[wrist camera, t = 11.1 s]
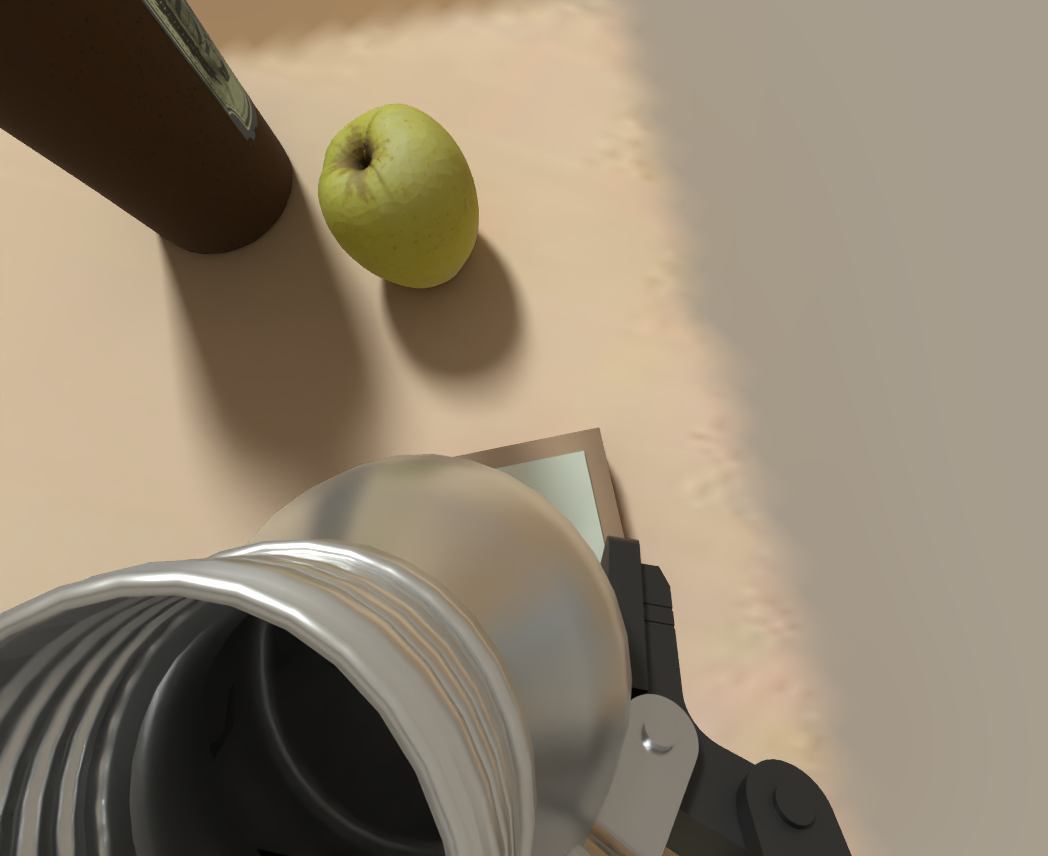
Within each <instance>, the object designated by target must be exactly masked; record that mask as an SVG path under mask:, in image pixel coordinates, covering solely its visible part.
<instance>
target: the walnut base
mask: <svg viewBox="0 0 1048 856" xmlns="http://www.w3.org/2000/svg"><path fill="white" fill-rule="evenodd" d="M455 458H462V459H468V460H472V461H475V462H478V463H480V464H483V465H486V466H488V467H491V468H494V469H497V470H499V471H502V472H505V473H507V474H509V475H510V476H512V477H514V478H515V479H517V480H519V481H520V482H522V483H523V484H525V485H527V486H528V487H530V488H532V489H533V490H535V491H537V492H538V493H540V494H541V495H542V496H543V497H544V498H545V499H547V500H548V501H549V502H550V503H551V504H552V505H553V506H554V507H555V508H557V509H558V510H559V511H560V512H561V513H562V514H563V515H564V516H565V517H567V518H568V519H569V520H570V521H571V523H572V524H573V525H574V527H575V528H576V529H577V531H578V532H579V533H580V534H581V536H582V537H583V538H584V540H585V541H586V542H587V544H588V545H589V546H590V548H591V549H592V550H593V552H594V553H595V554H596V556H597V558H598V560H599V562H600V563H601V559H602V555H603V550H604V546H605V542H606V538H607V536H608V535H609V536H615V537H622V538H624V533H623V529H622V525H621V520H620V516H619V512H618V507H617V503H616V499H615V494H614V490H613V485H612V481H611V477H610V472H609V468H608V464H607V459H606V455H605V451H604V446H603V442H602V438H601V433H600V429H599V428H594V429H589V430H584V431H579V432H574V433H569V434H565V435H560V436H555V437H550V438H545V439H540V440H535V441H530V442H525V443H520V444H515V445H510V446H505V447H500V448H495V449H490V450H485V451H481V452H476V453H471V454H466V455H461V456H456V457H455Z"/></svg>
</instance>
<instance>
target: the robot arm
mask: <svg viewBox="0 0 1048 856" xmlns="http://www.w3.org/2000/svg"><path fill="white" fill-rule="evenodd" d="M600 564H601V566H602V568H603V570H604V572H605V574H606V576H607V578H608V580H609V582H610V584H611V586H612V588H613V590H614V592H615V595H616V598H617V602H618V605H619V608H620V612H621V615H622V618H623V622H624V625H625V628H626V632H627V636H628V646H629V655H630V664H631V673H632V688H631V702H630V715H629V726H628V730H627V733H626V737H625V741H624V744H623V748H622V752H621V756H620V759H619V763H618V767H617V770H616V773H615V776H614V779H613V781H612V784H611V787H610V790H609V793H608V795H607V797H606V799H605V801H604V803H603V805H602V807H601V809H600V811H599V813H598V816H597V818H596V820H595V822H594V824H593V826H592V828H591V830H590V832H589V834H588V835H587V836H585V837H584V838H583V839H582V840H581V841H580V842H579V843H578V844H576V845H575V846H574V847H573V848H572V849H571V850H570V851H569V852H568V853H567V854H566V855H565V856H662V855H663V852H664V849H665V847H667V848H669V849H670V850H672V851H673V852H675V853H676V854H678V855H679V856H852V855H851V853H850V851H849V848H848V846H847V843H846V841H845V839H844V836H843V834H842V831H841V829H840V826H839V824H838V822H837V819H836V817H835V814H834V812H833V810H832V807H831V805H830V803H829V801H828V800H827V798H826V796H825V795H824V793H823V792H822V790H821V789H820V788H819V787H818V785H817V784H816V783H815V782H814V781H813V780H812V779H811V778H810V777H809V776H808V775H807V774H805V773H804V772H803V771H802V770H800V769H798V768H797V767H795V766H793V765H791V764H789V763H787V762H784V761H781V760H775V759H771V760H764V761H761V762H759V763H757V764H756V765H754V764H752V763H751V762H749V761H747V760H745V759H743V758H741V757H740V756H738V755H736V754H734V753H732V752H730V751H729V750H727V749H725V748H723V747H721V746H720V745H718V744H716V743H715V742H713V741H712V740H711V739H710V738H708V737H707V736H706V735H705V734H704V733H703V732H702V731H701V730H700V729H699V728H698V726H697V725H696V724H695V723H694V721H693V720H692V718H691V716H690V715H689V713H688V711H687V708H686V706H685V703H684V699H683V693H682V685H681V676H680V668H679V659H678V651H677V642H676V634H675V629H674V617H673V611H672V600H671V591H670V585H669V584H668V582H667V580H666V578H665V577H664V575H663V573H662V571H661V570H660V568H659V566H653V565H647V564H641V559H640V544H639V541H638V540H634V539H628V538H622V537H615V536H609V535H608V536H607V538H606V542H605V546H604V550H603V555H602V559H601V563H600ZM233 726H234V682H233V684H232V686H231V689H230V692H229V698H228V706H227V713H226V721H225V728H224V732H223V735H222V737H221V738H220V739H219V740H216V741H213V742H212V743H211V745H210V753H211V754H212V756H213V757H214V759H215V757H216V756H217V754H218V752H219V751H220V749H221V747H222V746H223V744H224V742H225V741H226V739H227V737H228V736H229V734H230V732H231V731H232V729H233ZM257 850H258V851H259V853H260V854H261V856H287V855H282V854H278V853H274V852H269V851H265V850H261V849H257Z"/></svg>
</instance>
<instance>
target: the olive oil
mask: <svg viewBox="0 0 1048 856" xmlns="http://www.w3.org/2000/svg"><path fill="white" fill-rule="evenodd" d="M0 128H1V129H3V130H4V131H6V132H7V133H9V134H10V135H12V136H13V137H15V138H16V139H18V140H20V141H21V142H23V143H24V144H26V145H27V146H29V147H30V148H32V149H33V150H35V151H36V152H38V153H39V154H41V155H42V156H44V157H45V158H47V159H48V160H50V161H51V162H53V163H54V164H56V165H57V166H59V167H60V168H62V169H63V170H65V171H66V172H68V173H69V174H71V175H73V176H74V177H76V178H77V179H79V180H80V181H82V182H83V183H85V184H86V185H88V186H89V187H91V188H92V189H94V190H95V191H97V192H98V193H100V194H101V195H102V196H104V197H105V198H107V199H108V200H110V201H111V202H113V203H114V204H116V205H117V206H119V207H120V208H121V209H123V210H124V211H126V212H127V213H129V214H130V215H132V216H133V217H135V218H136V219H138V220H139V221H140V222H142V223H143V224H145V225H146V226H148V227H149V228H151V229H152V230H154V231H155V232H156V233H158V234H159V235H161V236H162V237H164V238H165V239H167V240H168V241H170V242H172V243H173V244H175V245H177V246H179V247H181V248H183V249H186V250H189V251H193V252H198V253H220V252H226V251H230V250H233V249H236V248H239V247H241V246H244V245H246V244H248V243H250V242H251V241H253V240H255V239H256V238H258V237H259V236H260V235H262V234H263V233H264V232H265V231H266V230H267V229H268V228H269V227H270V226H271V225H272V224H273V223H274V222H275V221H276V219H277V218H278V217H279V215H280V214H281V212H282V210H283V208H284V206H285V204H286V202H287V199H288V196H289V193H290V188H291V179H292V176H291V167H290V162H289V159H288V157H287V154H286V152H285V150H284V148H283V147H282V145H281V144H280V142H279V140H278V139H277V137H276V136H275V134H274V133H273V132H272V130H271V129H270V127H269V126H268V124H267V123H266V121H265V120H264V118H263V117H262V115H261V114H260V112H259V111H258V109H257V108H256V107H255V105H254V104H253V102H252V101H251V99H250V97H249V96H248V94H247V93H246V91H245V90H244V88H243V87H242V85H241V84H240V82H239V81H238V79H237V78H236V76H235V75H234V73H233V72H232V70H231V69H230V67H229V66H228V64H227V63H226V61H225V60H224V58H223V57H222V55H221V54H220V52H219V50H218V49H217V47H216V46H215V44H214V43H213V41H212V40H211V38H210V37H209V35H208V34H207V32H206V31H205V29H204V28H203V26H202V25H201V23H200V21H199V20H198V18H197V17H196V15H195V14H194V12H193V11H192V9H191V8H190V6H189V5H188V3H187V2H186V0H0Z"/></svg>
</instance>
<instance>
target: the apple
mask: <svg viewBox="0 0 1048 856" xmlns="http://www.w3.org/2000/svg"><path fill="white" fill-rule="evenodd" d="M318 197H319V203H320V206H321V210H322V213H323V216H324V218H325V220H326V223H327V225H328V227H329V229H330V231H331V232H332V234H333V235H334V237H335V238H336V240H337V242H338V243H339V244H340V246H341V247H342V248H343V249H344V250H345V251H346V252H347V253H348V254H349V255H350V256H351V257H352V258H353V259H354V260H355V261H357V262H358V263H359V264H360V265H361V266H363V267H364V268H365V269H367V270H368V271H370V272H372V273H373V274H375V275H377V276H379V277H381V278H383V279H385V280H388V281H390V282H392V283H395V284H398V285H402V286H406V287H411V288H429V287H434V286H437V285H440V284H442V283H445V282H447V281H449V280H450V279H452V278H453V277H454V276H455V275H456V274H457V273H458V272H459V271H460V269H461V268H462V266H463V265H464V263H465V262H466V260H467V259H468V257H469V256H470V254H471V252H472V250H473V247H474V245H475V242H476V238H477V232H478V224H479V208H478V200H477V193H476V188H475V184H474V180H473V177H472V174H471V171H470V169H469V166H468V164H467V161H466V159H465V157H464V155H463V153H462V152H461V150H460V148H459V146H458V145H457V144H456V142H455V141H454V139H453V138H452V137H451V135H450V134H449V133H448V132H447V131H446V130H445V129H444V128H443V127H442V126H441V125H440V124H439V123H438V122H437V121H435V120H434V119H433V118H432V117H430V116H429V115H427V114H425V113H424V112H422V111H420V110H418V109H416V108H414V107H411V106H408V105H403V104H390V105H385V106H381V107H378V108H375V109H373V110H370V111H368V112H366V113H364V114H363V115H361V116H359V117H357V118H356V119H354V120H353V121H351V122H350V123H349V124H348V125H347V126H345V127H344V128H343V129H342V130H341V131H340V132H339V133H338V134H337V135H336V136H335V137H334V138H333V139H332V141H331V143H330V145H329V146H328V148H327V151H326V154H325V160H324V165H323V171H322V173H321V176H320V180H319V185H318Z"/></svg>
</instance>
